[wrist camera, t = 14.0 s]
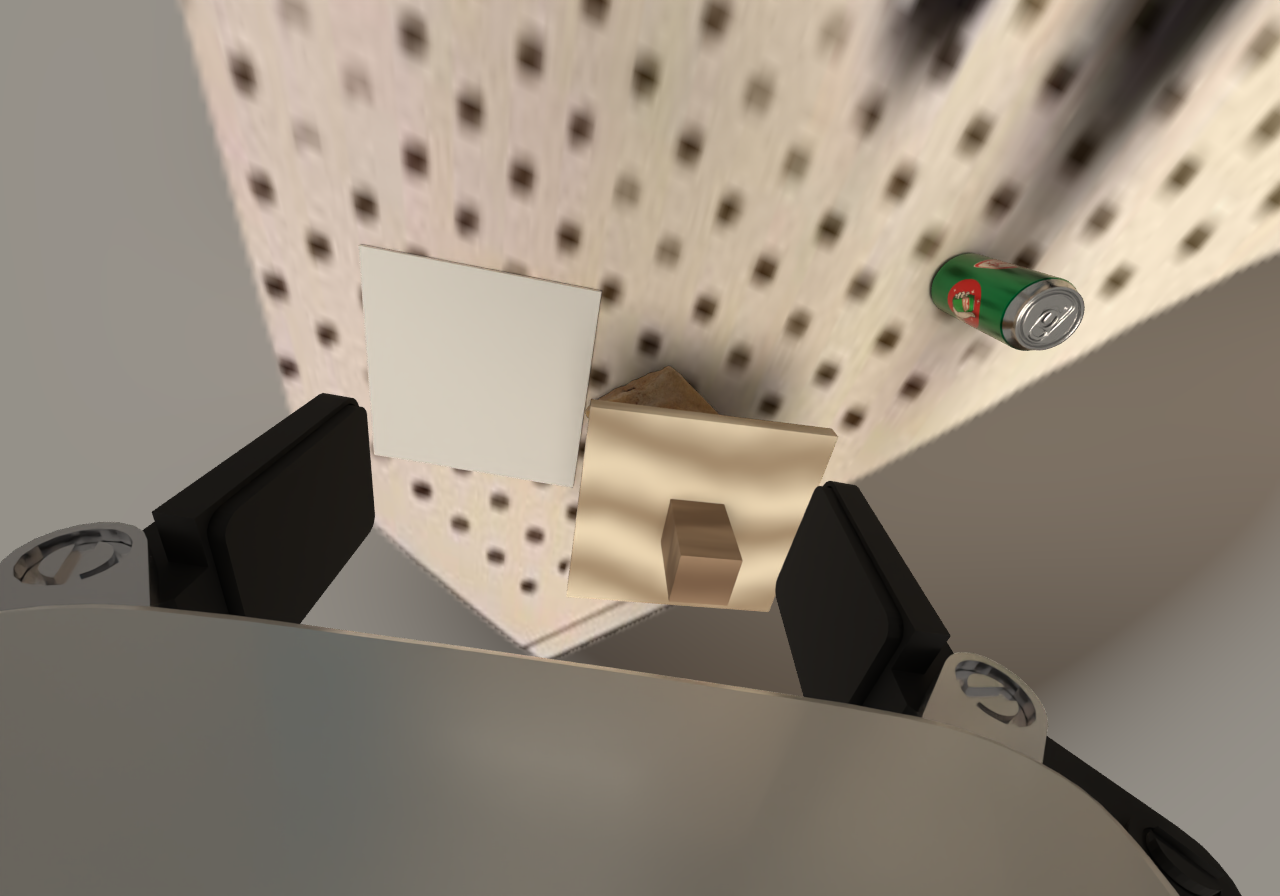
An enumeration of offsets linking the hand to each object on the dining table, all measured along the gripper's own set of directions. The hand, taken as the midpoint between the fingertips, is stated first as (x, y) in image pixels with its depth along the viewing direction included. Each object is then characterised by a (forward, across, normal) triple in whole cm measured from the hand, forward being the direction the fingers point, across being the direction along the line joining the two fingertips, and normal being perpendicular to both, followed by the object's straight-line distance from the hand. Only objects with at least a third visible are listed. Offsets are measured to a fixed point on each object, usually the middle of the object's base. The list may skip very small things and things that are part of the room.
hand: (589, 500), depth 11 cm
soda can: (+38, -28, -2) cm, 48 cm away
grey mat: (+38, +13, +15) cm, 43 cm away
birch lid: (+23, -7, +16) cm, 29 cm away
